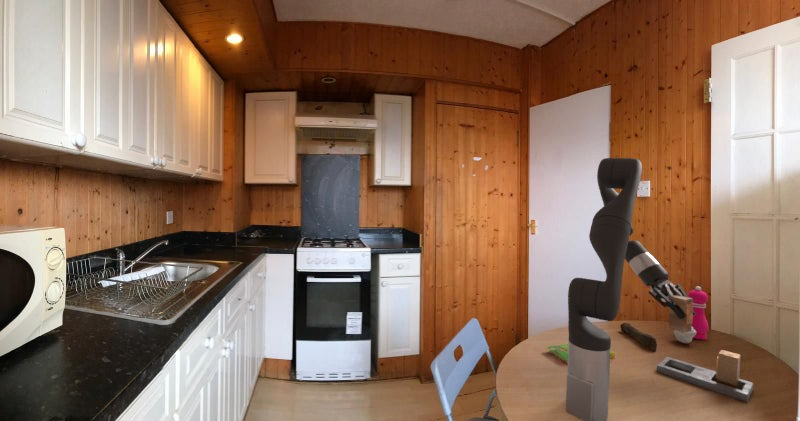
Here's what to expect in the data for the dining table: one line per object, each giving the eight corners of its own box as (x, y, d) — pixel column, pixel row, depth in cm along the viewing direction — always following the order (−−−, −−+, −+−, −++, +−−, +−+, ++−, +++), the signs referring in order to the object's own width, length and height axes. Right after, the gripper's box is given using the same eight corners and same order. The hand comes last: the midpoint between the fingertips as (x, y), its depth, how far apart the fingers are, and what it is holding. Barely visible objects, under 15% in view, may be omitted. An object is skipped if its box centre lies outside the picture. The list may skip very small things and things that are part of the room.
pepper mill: (699, 341, 132) (701, 289, 131) (679, 333, 139) (681, 284, 138) (712, 339, 134) (715, 288, 133) (692, 332, 141) (695, 283, 140)
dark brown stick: (619, 331, 141) (619, 320, 141) (630, 332, 140) (630, 320, 140) (647, 352, 122) (647, 339, 122) (659, 353, 122) (660, 340, 121)
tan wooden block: (685, 332, 104) (686, 300, 104) (668, 327, 108) (670, 296, 108) (692, 331, 106) (694, 298, 105) (676, 326, 110) (678, 294, 109)
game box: (615, 361, 116) (564, 365, 111) (591, 349, 126) (544, 352, 120) (615, 352, 116) (565, 356, 111) (592, 341, 126) (544, 344, 120)
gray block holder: (752, 389, 98) (754, 355, 98) (746, 402, 92) (748, 365, 92) (666, 362, 114) (668, 332, 113) (656, 371, 108) (658, 339, 107)
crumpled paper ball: (690, 348, 126) (691, 329, 125) (669, 340, 132) (669, 322, 132) (699, 345, 128) (700, 326, 128) (678, 338, 134) (679, 320, 134)
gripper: (643, 264, 110) (685, 313, 100) (670, 261, 116) (712, 308, 105) (625, 277, 115) (664, 325, 105) (652, 273, 121) (691, 319, 110)
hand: (688, 316), depth 105 cm, fingers closed on tan wooden block, 4 cm apart
